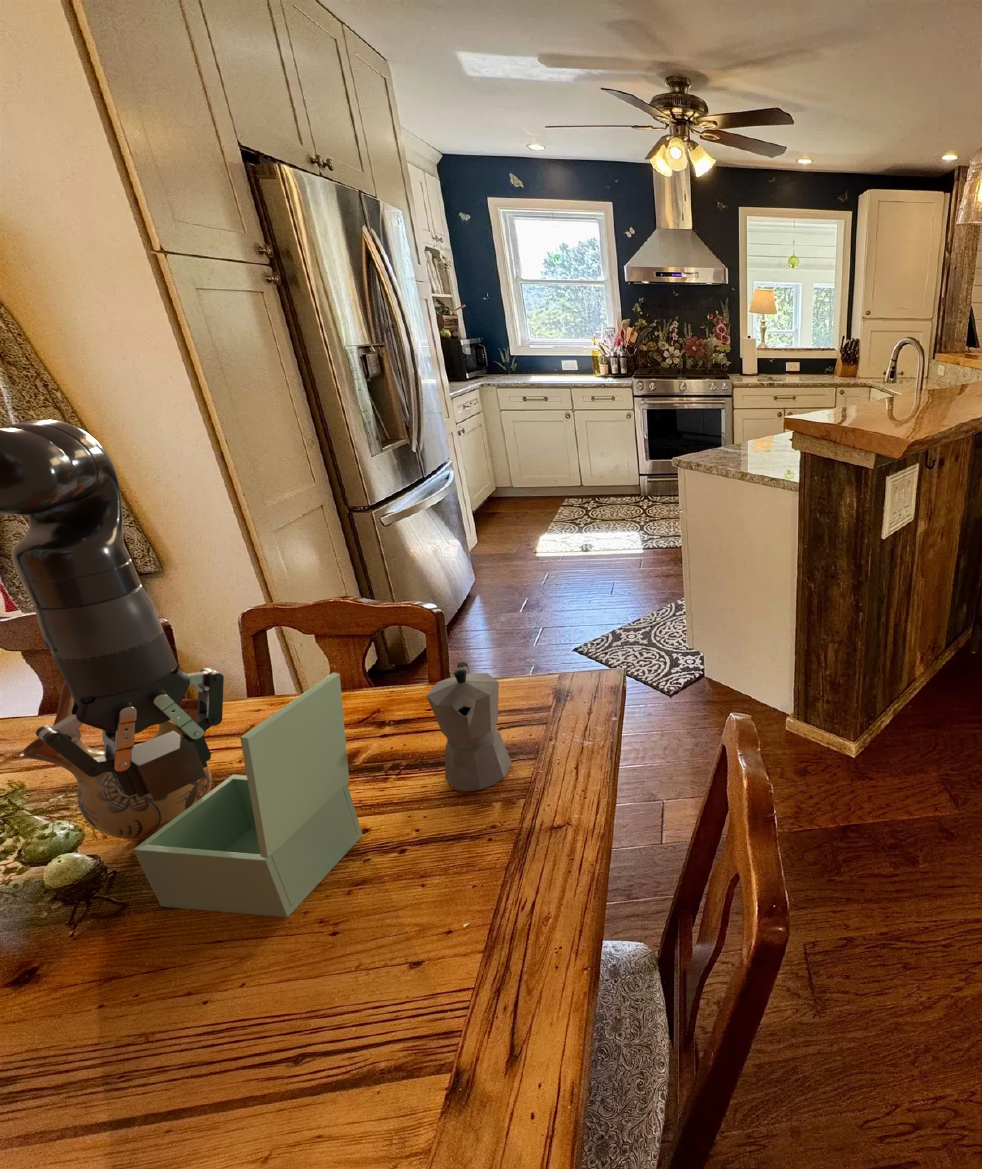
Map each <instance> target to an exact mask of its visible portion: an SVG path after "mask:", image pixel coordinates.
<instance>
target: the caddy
mask: <svg viewBox="0 0 982 1169" xmlns="http://www.w3.org/2000/svg"><path fill="white" fill-rule="evenodd" d="M363 836H364V834H363V831H362V828H361V825H360V821H359V817H358V815H357V812H356V808H355V805H354V802H353V798H352V794H351V791H350V788H349V784H348V783H347V784H345V785H344V786H343V787H342V788H341V789H340V790H339V791H338V792H337V793H336V794H335V795H334V796H333V797H332V798H331V799H330V800H329V801H328V802H326V803H325V804H324V805H323V806H322V807H321V808H320V809H319V810H318V811H317V812H316V813H315V814H314V815H313V816H312V817H311V818H310V819H308V820H307V821H306V822H305V823H304V824H303V825H302V826H301V827H300V828H299V829H298V830H297V831H296V832H295V833H294V834H293V835H292V836H291V837H289V838H288V839H287V840H286V841H285V842H284V843H283V844H282V845H281V846H280V847H279V848H278V849H277V850H276V851H275V852H274V853H273V854H272V855H270V856H269V857H268V858H264V857H261V855H260V849H259V843H258V837H257V832H256V826H255V820H254V814H253V809H252V803H251V797H250V791H249V785H248V780H247V775H246V774H245V775H244V774H232V775H230V776H229V777H228V778H226V779H225V780H223V781H222V782H220V784H218V785H217V786H216V787H214V788H213V789H211V791H210V792H209V793H208V794H206V795H205V796H204V797H202V798H201V799H200V800H198V801H197V802H196V803H194V804H193V805H192V806H190V807H189V808H188V809H186V810H185V811H184V812H182V813H181V814H180V815H178V816H177V817H176V818H174V819H173V820H172V821H170V822H169V823H168V824H166V825H165V826H164V827H162V828H161V829H160V830H158V831H157V832H156V833H154V834H153V835H152V836H150V837H149V838H148V839H144V840H143V841H142V842H140V844H139V845H137V846H136V847H134V848H133V849H132V851H133V854H134V855H135V857H136V859H137V861H138V863H139V865H140V867H141V869H142V871H143V874H144V875H145V877H146V879H147V882H148V883H149V885H150V888H151V889H152V892H153V894H154V895H155V897H156V899H157V902H158V903H159V905H160V907H163V908H176V909H187V910H197V911H207V912H209V911H210V912H219V913H220V912H221V913H231V914H241V915H242V914H243V915H253V916H265V917H274V918H275V917H276V918H289V917H290V915H291V914H292V913H293V912H294V911H295V910H296V909H297V908H298V907H299V906H300V905H301V904H302V903H303V902H304V900H306V899H307V897H308V896H309V895H310V894H311V893H312V892H313V890H314V889H316V887H317V886H318V885H319V884H320V883H321V882H322V881H323V880H324V879H325V877H327V875H328V874H329V873H330V872H331V871H332V870H333V869H334V867H335V866H336V865H338V863H339V862H340V861H341V860H342V859H343V858H344V857H345V856H346V855H347V853H348V852H350V851H351V849H352V848H353V847H354V846H355V845H356V844H357V842H359V840H360V839H361V838H362V837H363Z"/></svg>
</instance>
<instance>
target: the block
mask: <svg viewBox="0 0 982 1169" xmlns="http://www.w3.org/2000/svg"><path fill="white" fill-rule="evenodd" d="M151 739H152V738H151ZM141 743H142V744H140V743H138V744H139V745H137V744H136V745H137V746H135V747H133V748H132V758H131V764H132V765H133V766H135V768H136V770H137V772H138V774H139V777H140V779H141V781H142V783H143V785H144V787H145V789H146V792H147V796H148V797H150V798H151V799H152V800H154V801H155V800H157V799H159V798H161V797H163V796H165V795H168V794H170V793H172V792H174V791H176V790H178V789H180V788H182V787H184V786H186V785H189V784H191V783H193V782H195V781H197V780H199V779H201V778H203V777H205V776H206V774H205V771H204V769H203V766H202V764H201V762H200V759H199V757H198V754H197V752H196V749H195V747H194V744H193V743H192V742H190V741H189V740H187V739H186V738H184V737H182V736H181V735H179V734H178V733H176V732H175V731H171V732H169V733H166V734H164V735H161V736H159V737H156V738H154V739H152V740H150V739H149V740H147V741H144V742H141Z"/></svg>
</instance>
